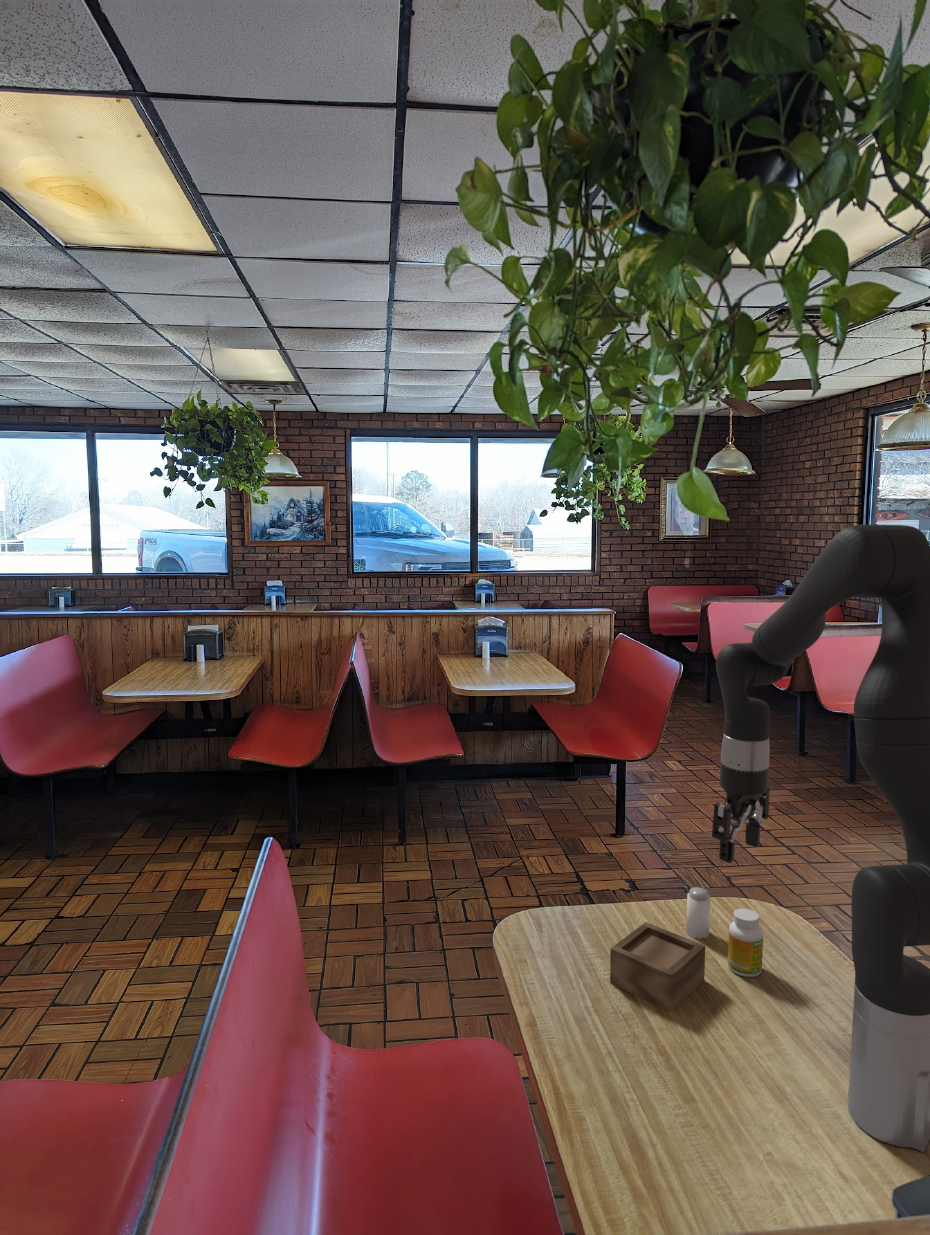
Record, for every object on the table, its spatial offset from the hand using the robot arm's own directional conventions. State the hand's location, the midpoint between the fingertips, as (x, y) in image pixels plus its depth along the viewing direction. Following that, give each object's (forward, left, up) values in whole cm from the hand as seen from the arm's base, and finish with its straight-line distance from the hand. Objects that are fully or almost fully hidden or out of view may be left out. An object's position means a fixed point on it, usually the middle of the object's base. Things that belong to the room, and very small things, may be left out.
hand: (739, 852), depth 129 cm
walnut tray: (+7, +15, -19) cm, 25 cm away
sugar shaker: (+9, -3, -19) cm, 21 cm away
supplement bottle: (-2, +2, -19) cm, 20 cm away
